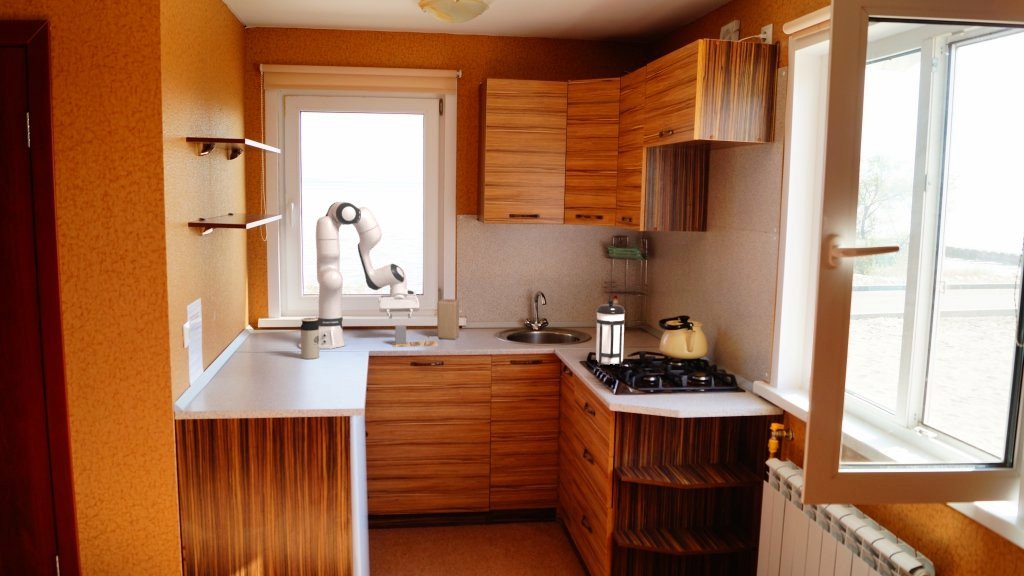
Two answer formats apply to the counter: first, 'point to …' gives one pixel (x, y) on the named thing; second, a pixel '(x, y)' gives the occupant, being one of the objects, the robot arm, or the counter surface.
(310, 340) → the travel mug
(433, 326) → the counter surface
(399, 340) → the block
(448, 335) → the wooden block
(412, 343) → the board
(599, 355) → the coffee press
